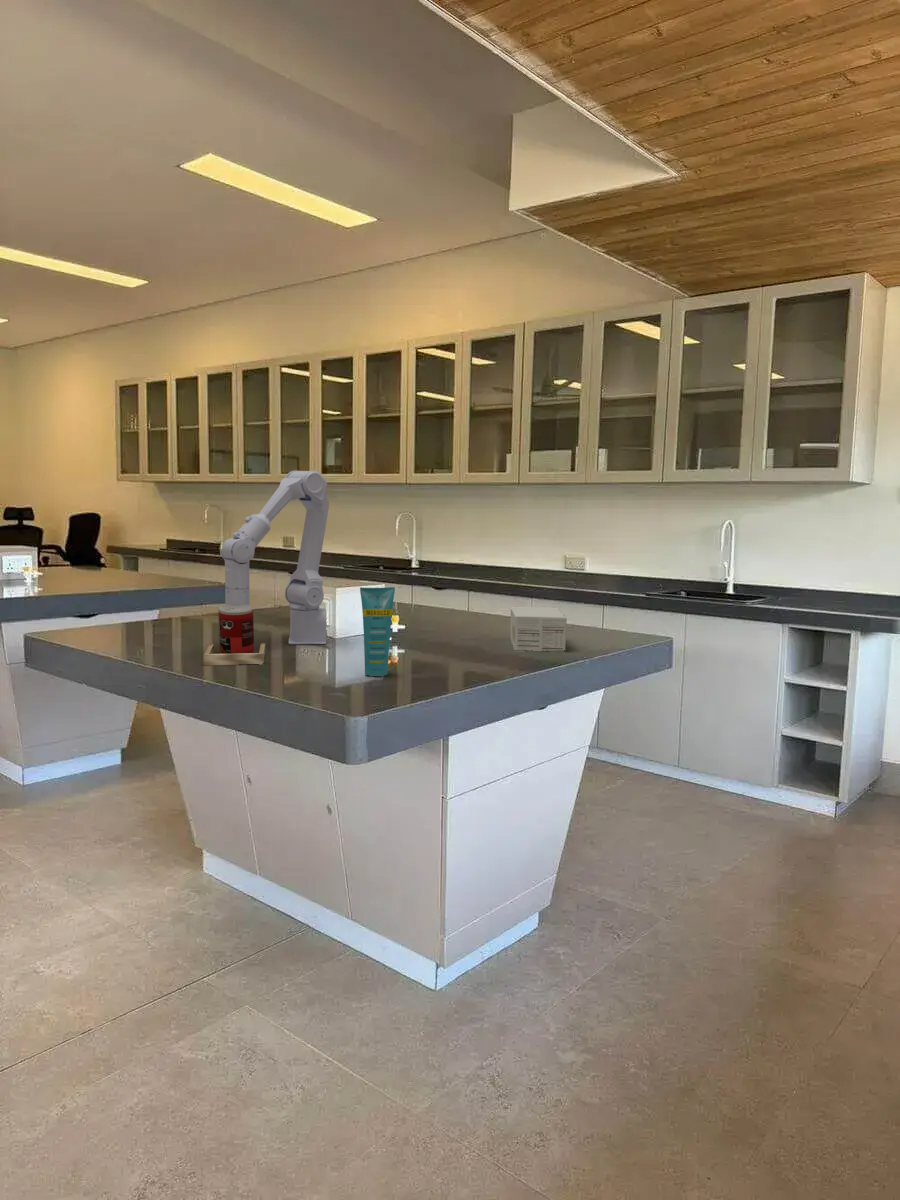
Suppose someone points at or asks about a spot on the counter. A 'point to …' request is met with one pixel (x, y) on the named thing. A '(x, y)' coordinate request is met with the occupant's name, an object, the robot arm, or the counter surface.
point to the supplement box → (537, 628)
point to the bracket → (233, 657)
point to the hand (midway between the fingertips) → (237, 643)
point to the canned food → (236, 629)
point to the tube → (377, 628)
